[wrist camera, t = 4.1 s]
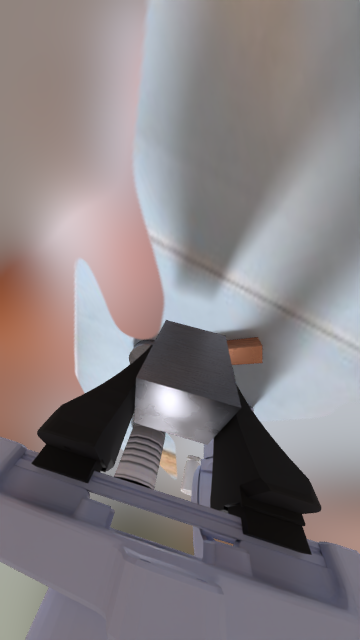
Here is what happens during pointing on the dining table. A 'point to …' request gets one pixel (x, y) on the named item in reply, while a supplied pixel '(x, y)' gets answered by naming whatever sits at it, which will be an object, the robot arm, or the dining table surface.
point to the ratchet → (238, 349)
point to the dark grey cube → (187, 384)
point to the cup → (189, 474)
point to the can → (141, 456)
